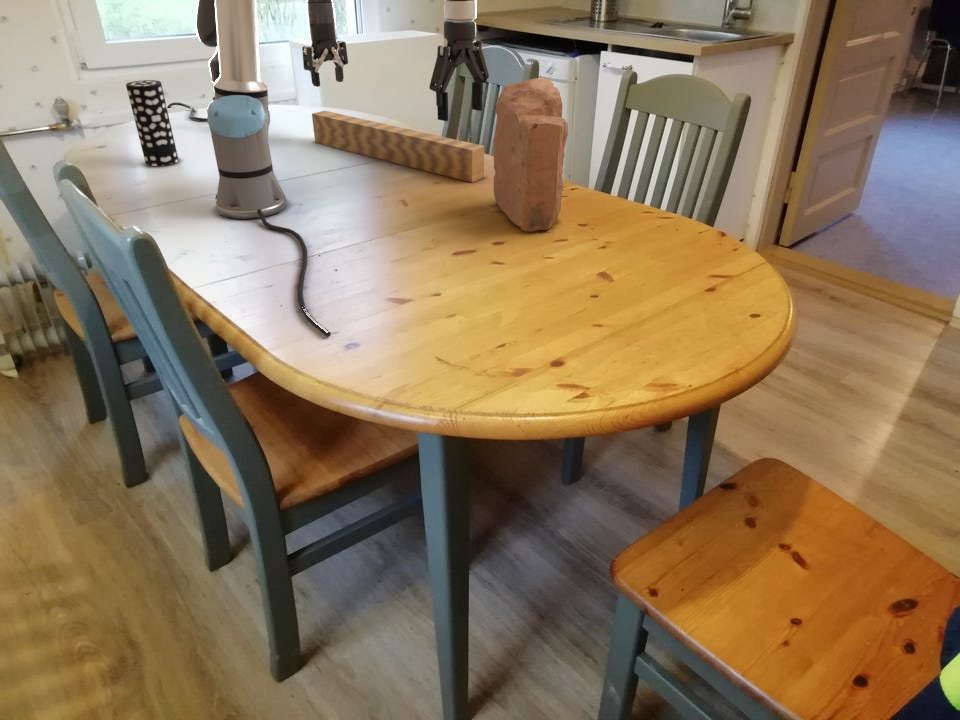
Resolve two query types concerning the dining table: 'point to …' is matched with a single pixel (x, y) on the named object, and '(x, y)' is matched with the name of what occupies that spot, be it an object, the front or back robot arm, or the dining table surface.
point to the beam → (400, 145)
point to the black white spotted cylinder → (152, 122)
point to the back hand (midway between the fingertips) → (328, 83)
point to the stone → (529, 153)
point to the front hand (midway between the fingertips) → (460, 115)
